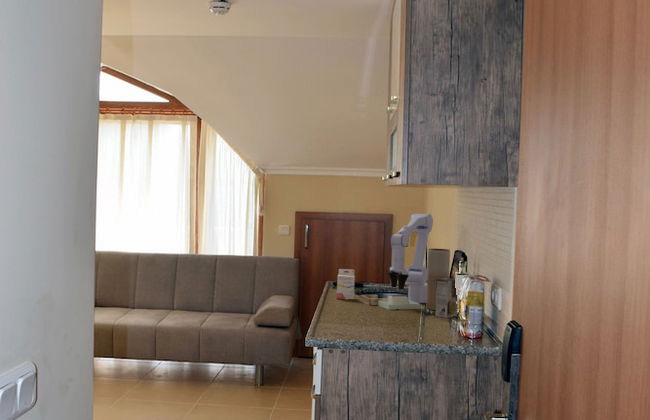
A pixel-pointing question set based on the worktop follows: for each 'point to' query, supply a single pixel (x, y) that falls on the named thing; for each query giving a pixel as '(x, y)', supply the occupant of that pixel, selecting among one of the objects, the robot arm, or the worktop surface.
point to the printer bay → (371, 299)
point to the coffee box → (446, 298)
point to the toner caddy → (397, 299)
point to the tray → (399, 305)
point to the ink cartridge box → (345, 284)
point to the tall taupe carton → (436, 273)
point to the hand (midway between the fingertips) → (397, 288)
